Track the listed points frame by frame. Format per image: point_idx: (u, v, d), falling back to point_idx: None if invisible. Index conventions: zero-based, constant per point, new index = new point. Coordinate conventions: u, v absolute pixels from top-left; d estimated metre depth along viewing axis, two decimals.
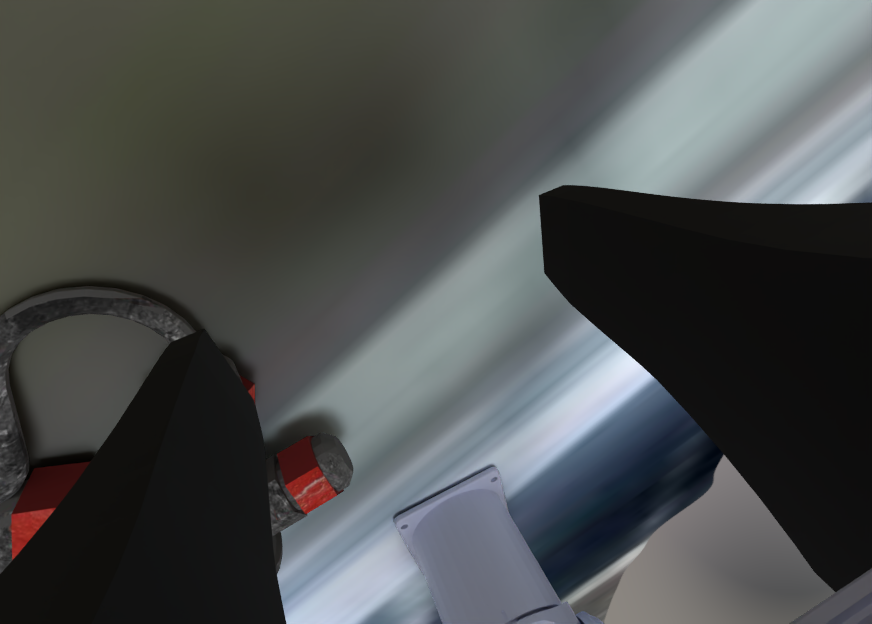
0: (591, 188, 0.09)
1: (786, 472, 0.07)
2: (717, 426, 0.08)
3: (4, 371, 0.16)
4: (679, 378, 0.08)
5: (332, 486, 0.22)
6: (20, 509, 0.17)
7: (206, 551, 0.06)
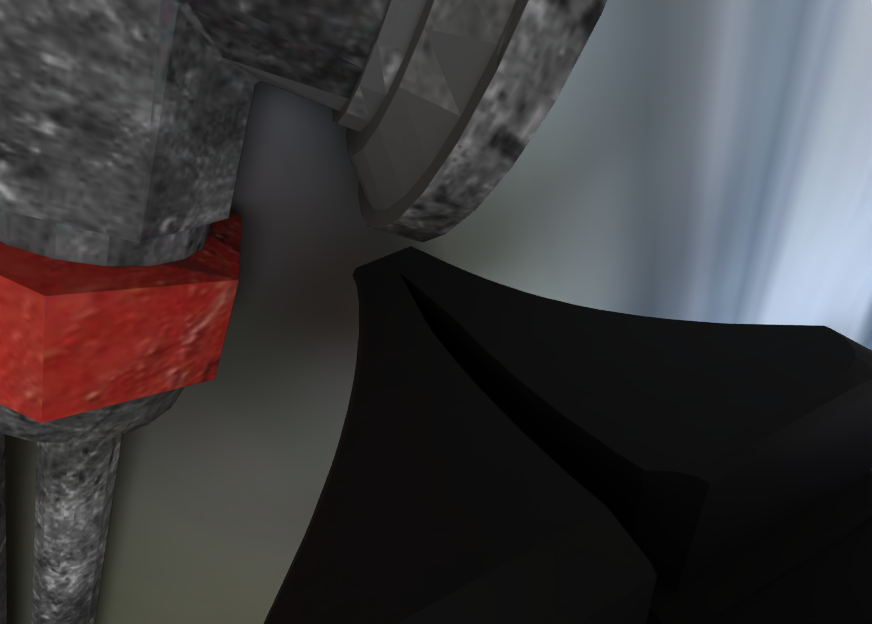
0: (424, 256, 0.08)
1: None
2: None
3: None
4: None
5: None
6: None
7: None
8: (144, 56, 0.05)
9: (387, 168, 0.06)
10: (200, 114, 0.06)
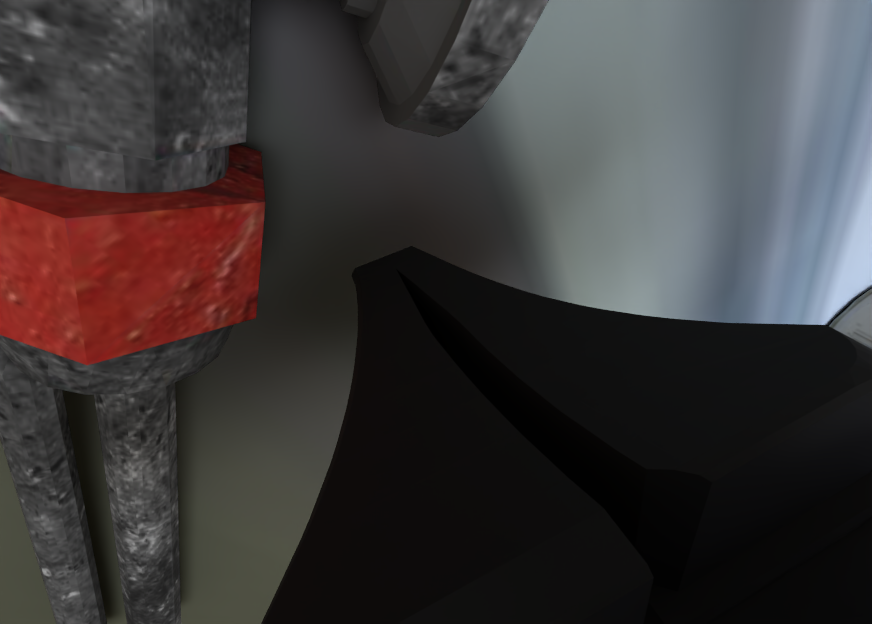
0: (425, 256, 0.08)
1: None
2: None
3: None
4: None
5: None
6: None
7: None
8: None
9: (409, 34, 0.05)
10: (198, 6, 0.05)
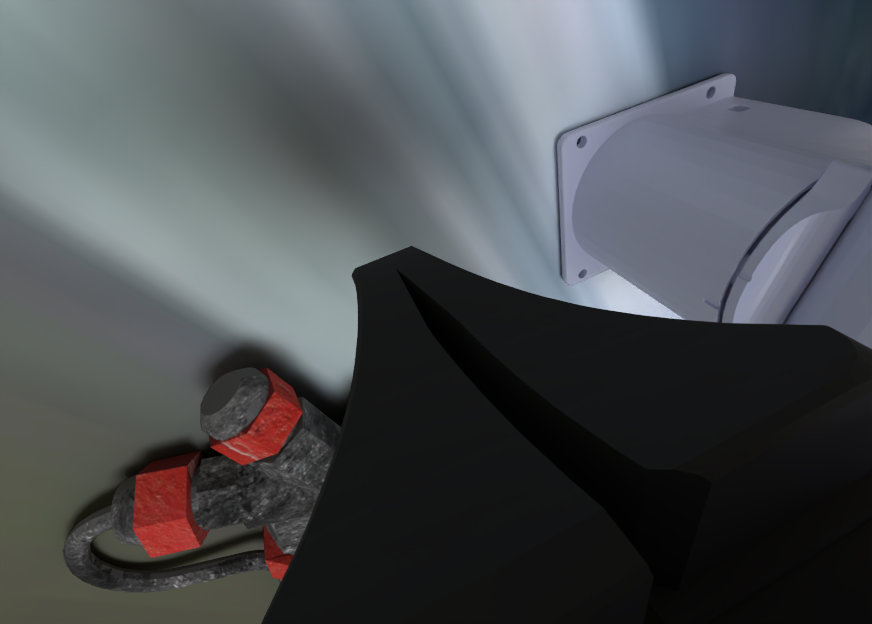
0: (425, 256, 0.08)
1: None
2: None
3: (162, 579, 0.24)
4: None
5: (240, 431, 0.17)
6: None
7: None
8: None
9: None
10: None
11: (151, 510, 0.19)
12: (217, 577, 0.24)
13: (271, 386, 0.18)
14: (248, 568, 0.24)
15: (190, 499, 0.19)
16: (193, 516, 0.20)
